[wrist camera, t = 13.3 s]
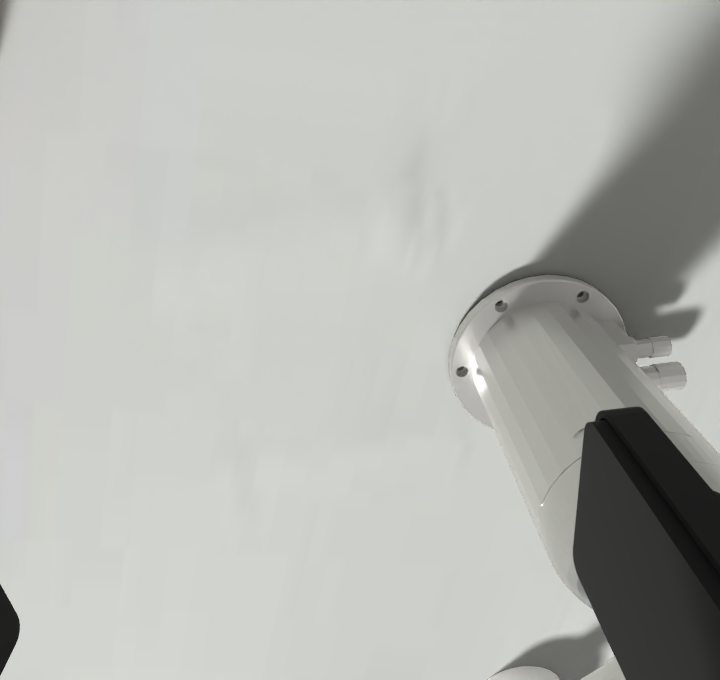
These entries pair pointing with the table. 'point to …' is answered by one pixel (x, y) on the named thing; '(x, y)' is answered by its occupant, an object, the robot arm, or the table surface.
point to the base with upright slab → (525, 674)
